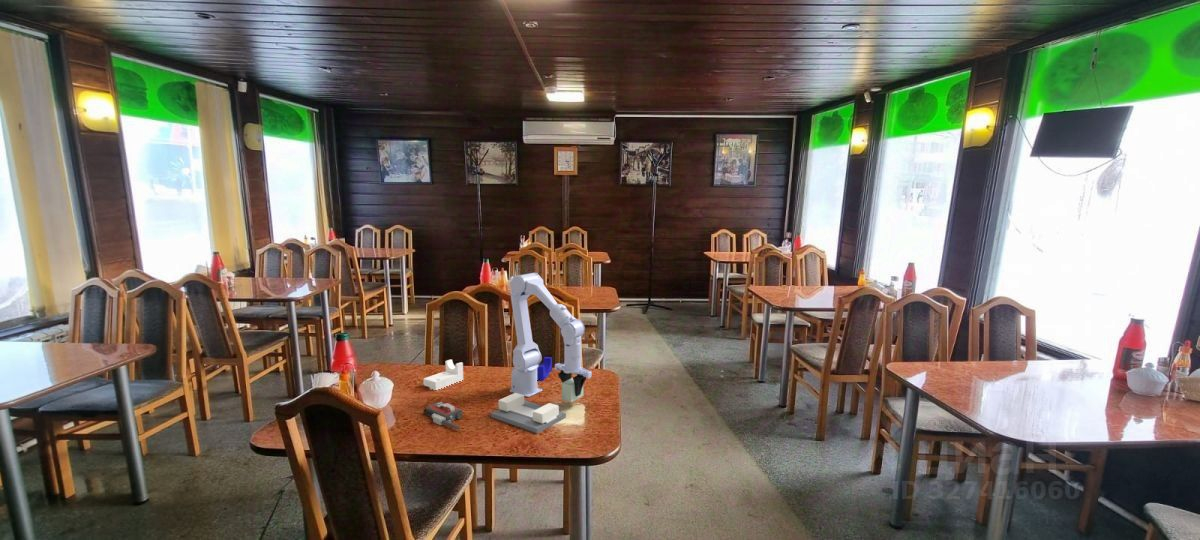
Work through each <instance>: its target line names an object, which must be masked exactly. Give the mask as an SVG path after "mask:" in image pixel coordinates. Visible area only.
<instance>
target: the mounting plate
mask: <svg viewBox="0 0 1200 540" xmlns="http://www.w3.org/2000/svg"><path fill="white" fill-rule="evenodd" d="M490 418H492V419H494V420H495V419H496V420H497V421H501V422H503V423H506V424H509V425H513V426H515V427H517V428H521V429H523V430H526V431H529V432H532V433H535V434H539V433H541V432H543V431H544V430H547V429H548V428H550V427H552V426H553V425H555V424H557V423H558V422H560V421H562V420H564V419H566V418H567V413H566V412H564V411H561V410H560V406H559V405H557V404H554V403H550V402H548V403H546V404H544V405H542V404H538V403H535V402H533V401H532V402H531V401H528V400H525V396H524V395H522V394H518V393H512V394H509V395H507V396H505V397H503V398H500V399H498V409H496V410H494V411H492V412H490Z"/></svg>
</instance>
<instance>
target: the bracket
mask: <svg viewBox="0 0 1200 540" xmlns="http://www.w3.org/2000/svg"><path fill="white" fill-rule="evenodd" d="M444 363H445V370H444V371H442V372H439V373H436V374H433V375H429V376H427V377H424V378H423V380H422V381H423V386H424V387H427V388H429V390H432V389H433V391H435V390H437V391H439V390H438V389H440V390H442V389H445V388H447V387H446V386H448V387H450V386H452V385H451V384H453V385H455V384H454V383H456V382H458V383H460V382H459V381H461V382H463V381H464V362H457V363H455V364H454V362H453V359H447V360H445V362H444ZM462 380H463V381H462ZM456 384H457V383H456ZM449 385H450V386H449ZM444 387H445V388H444ZM441 388H442V389H441Z"/></svg>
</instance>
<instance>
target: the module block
mask: <svg viewBox="0 0 1200 540" xmlns="http://www.w3.org/2000/svg"><path fill="white" fill-rule="evenodd" d="M582 397H584V386H583V387H582V390H581V394H580V395H579V396H576V395H575V384H574V380H573V377H571V379H569V380H567V381H565V382H563V383H562V382H561V400H562V401H565V402H569V403H573V402H574V401H577V400H579V399H580V398H582Z"/></svg>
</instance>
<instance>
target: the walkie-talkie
mask: <svg viewBox="0 0 1200 540" xmlns="http://www.w3.org/2000/svg"><path fill="white" fill-rule="evenodd" d="M422 410H423V411H422V413H424V414H425V415H426V416H429V417H430V418H431V419H432V421H433V423H434V424H437V425H439V426H443V425H446V426H447V427H450V428H454V429H457V430H460V429H461V427H460V426H459V425H456V424H455V423H452V422H453V421H456V420H460V419H462V418H463V409H461V408H459V407H456V406H455V405H453V404H451V403H448V402H447V403H445V402H444V401H443V402H442V401H437V402H433V403H432V404H429V405H427V406H426V408H425V409H422Z"/></svg>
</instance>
